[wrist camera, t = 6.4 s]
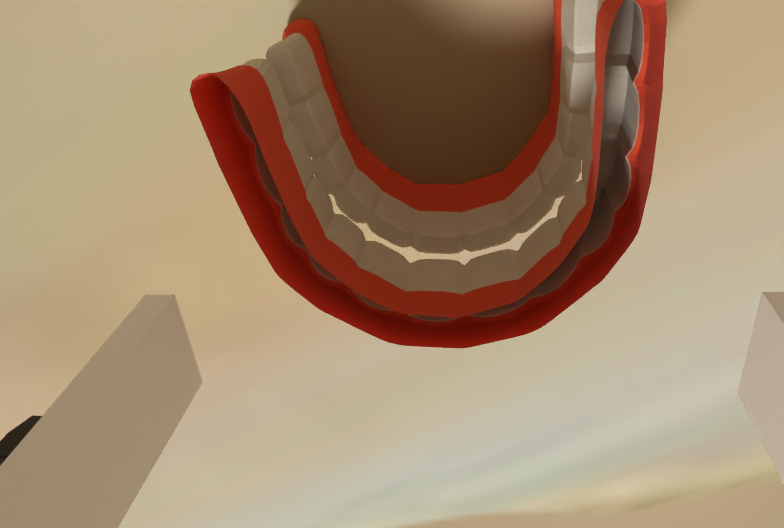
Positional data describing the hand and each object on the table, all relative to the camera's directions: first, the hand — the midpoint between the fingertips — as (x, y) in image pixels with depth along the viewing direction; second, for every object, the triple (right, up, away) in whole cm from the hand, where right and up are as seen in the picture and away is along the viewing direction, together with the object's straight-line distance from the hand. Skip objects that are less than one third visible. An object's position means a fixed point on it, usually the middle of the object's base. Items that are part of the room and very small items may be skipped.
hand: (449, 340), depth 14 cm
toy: (+1, +7, +10) cm, 13 cm away
